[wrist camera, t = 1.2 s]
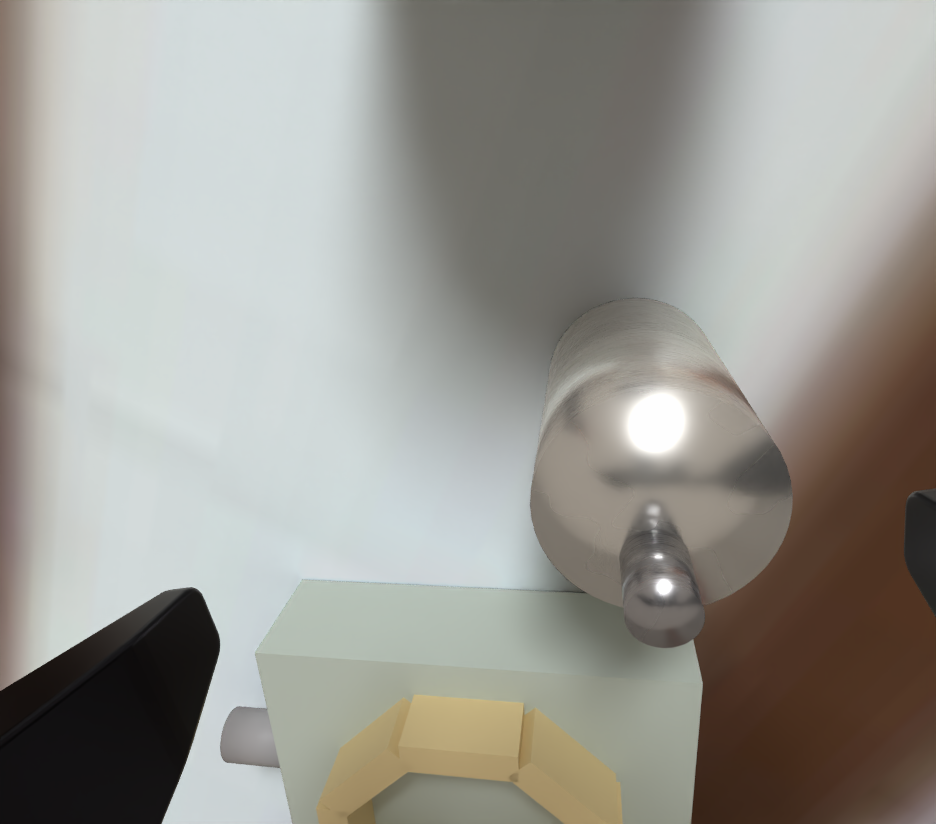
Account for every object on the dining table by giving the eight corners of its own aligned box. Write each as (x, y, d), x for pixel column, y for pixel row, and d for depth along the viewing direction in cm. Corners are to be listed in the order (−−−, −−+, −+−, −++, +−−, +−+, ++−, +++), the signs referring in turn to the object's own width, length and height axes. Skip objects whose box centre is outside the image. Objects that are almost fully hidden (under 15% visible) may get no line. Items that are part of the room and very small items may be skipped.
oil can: (722, 295, 19) (843, 427, 10) (710, 453, 21) (804, 683, 12) (547, 300, 20) (518, 425, 11) (550, 451, 22) (527, 664, 13)
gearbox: (683, 597, 23) (715, 739, 18) (667, 839, 27) (688, 1014, 22) (229, 576, 26) (134, 692, 20) (280, 798, 30) (212, 942, 25)
